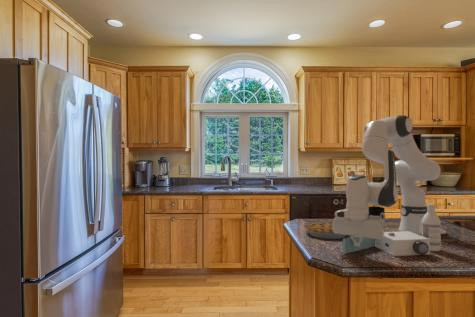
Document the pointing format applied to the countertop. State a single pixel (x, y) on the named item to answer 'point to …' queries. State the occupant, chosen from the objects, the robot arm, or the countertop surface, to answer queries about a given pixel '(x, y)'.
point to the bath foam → (432, 228)
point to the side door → (349, 244)
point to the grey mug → (377, 212)
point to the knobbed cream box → (404, 244)
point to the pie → (323, 231)
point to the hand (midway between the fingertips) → (357, 246)
